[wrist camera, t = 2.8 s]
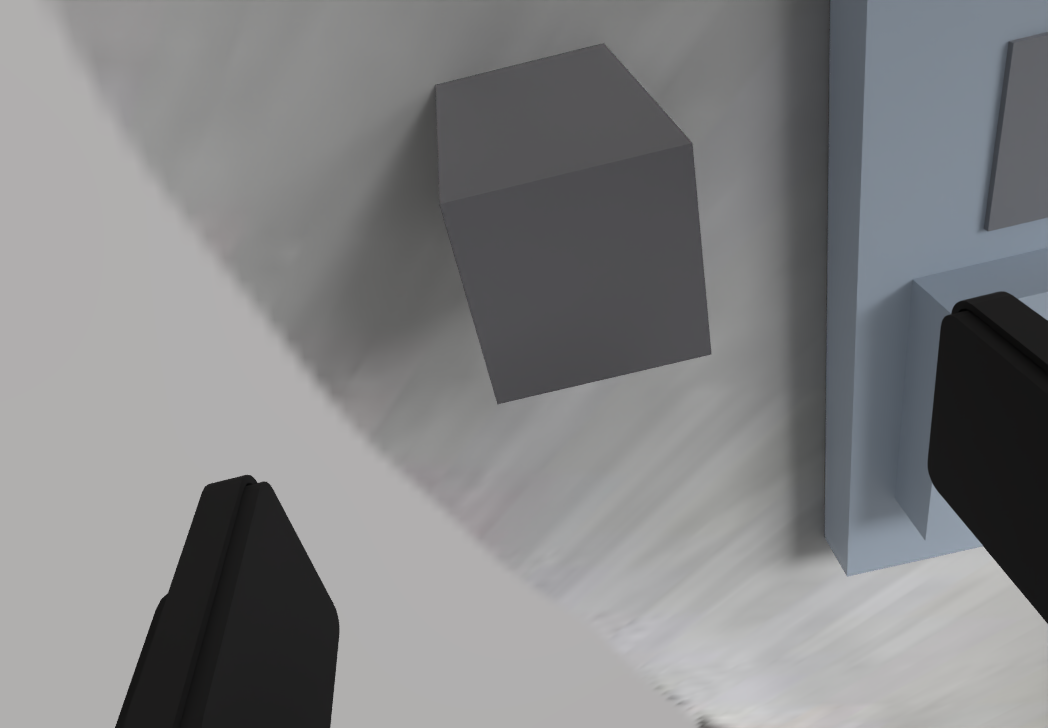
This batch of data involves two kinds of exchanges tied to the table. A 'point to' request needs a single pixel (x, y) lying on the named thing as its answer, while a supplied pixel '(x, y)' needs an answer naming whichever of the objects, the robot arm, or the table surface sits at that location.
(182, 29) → the table surface
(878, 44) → the blue-grey fixture board
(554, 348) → the block
